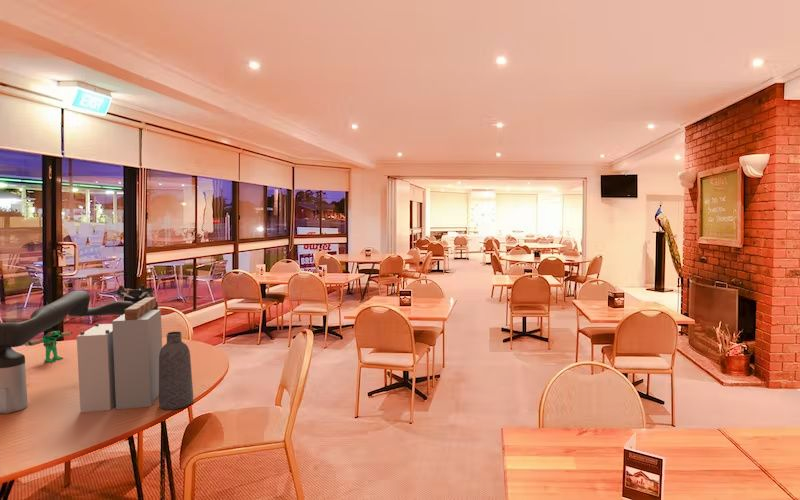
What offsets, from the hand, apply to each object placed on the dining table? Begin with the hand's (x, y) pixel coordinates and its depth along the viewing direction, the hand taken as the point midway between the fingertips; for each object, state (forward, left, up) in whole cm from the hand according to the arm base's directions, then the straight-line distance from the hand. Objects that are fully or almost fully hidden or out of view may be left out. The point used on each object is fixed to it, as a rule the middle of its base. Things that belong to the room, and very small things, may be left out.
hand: (131, 286), depth 211 cm
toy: (+16, +61, -42) cm, 76 cm away
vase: (-24, -38, -42) cm, 61 cm away
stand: (-23, -15, -42) cm, 50 cm away
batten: (-16, -18, -8) cm, 26 cm away
